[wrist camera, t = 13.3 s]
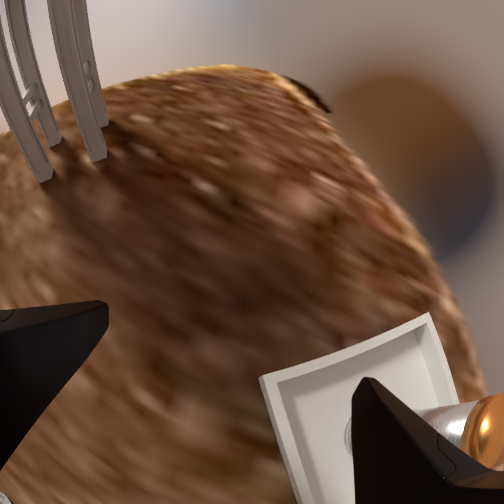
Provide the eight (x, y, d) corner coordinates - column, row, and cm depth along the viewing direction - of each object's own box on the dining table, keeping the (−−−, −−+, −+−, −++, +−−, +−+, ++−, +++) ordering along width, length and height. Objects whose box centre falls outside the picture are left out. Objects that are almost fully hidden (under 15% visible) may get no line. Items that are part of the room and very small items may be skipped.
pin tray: (308, 533, 13) (318, 546, 10) (258, 378, 20) (262, 375, 18) (449, 453, 16) (468, 454, 13) (411, 322, 23) (428, 311, 21)
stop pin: (338, 464, 16) (453, 505, 4) (349, 397, 19) (474, 372, 7) (398, 459, 16) (521, 468, 4) (407, 397, 19) (531, 365, 7)
